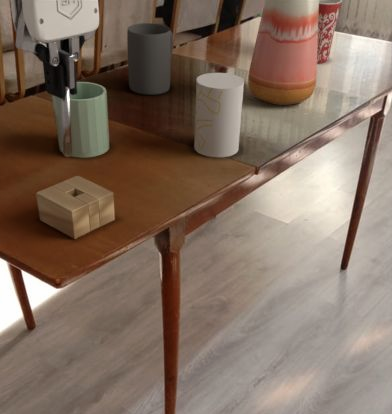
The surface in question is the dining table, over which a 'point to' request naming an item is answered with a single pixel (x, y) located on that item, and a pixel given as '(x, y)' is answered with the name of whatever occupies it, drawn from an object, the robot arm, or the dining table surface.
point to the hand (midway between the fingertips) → (62, 92)
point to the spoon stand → (76, 206)
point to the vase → (285, 52)
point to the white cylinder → (218, 114)
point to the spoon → (67, 100)
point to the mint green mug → (85, 120)
